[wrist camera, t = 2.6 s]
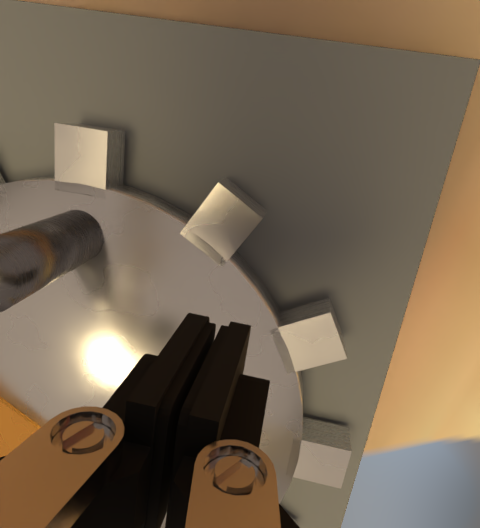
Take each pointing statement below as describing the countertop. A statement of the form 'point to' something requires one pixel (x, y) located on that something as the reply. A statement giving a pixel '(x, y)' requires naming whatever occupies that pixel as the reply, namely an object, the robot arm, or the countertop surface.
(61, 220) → the sprocket
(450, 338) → the countertop surface
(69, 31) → the sprocket base
